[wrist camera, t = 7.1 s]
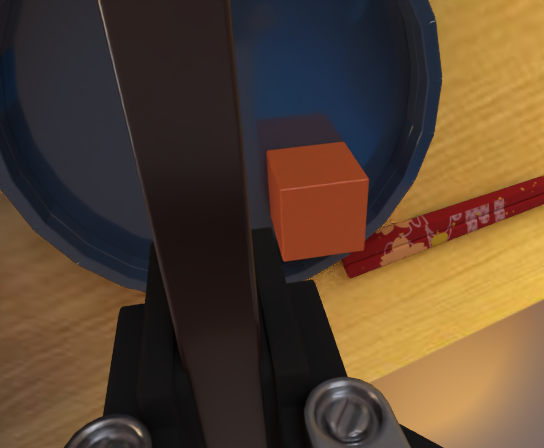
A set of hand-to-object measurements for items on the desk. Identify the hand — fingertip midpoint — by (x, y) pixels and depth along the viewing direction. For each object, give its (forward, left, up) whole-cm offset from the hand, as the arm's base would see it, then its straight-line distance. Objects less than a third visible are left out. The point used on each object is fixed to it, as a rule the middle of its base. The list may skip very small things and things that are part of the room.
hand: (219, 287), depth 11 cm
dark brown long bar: (0, 0, +2) cm, 2 cm away
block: (+4, +4, -11) cm, 12 cm away
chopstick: (+5, +18, -11) cm, 21 cm away
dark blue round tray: (0, +1, -11) cm, 11 cm away
